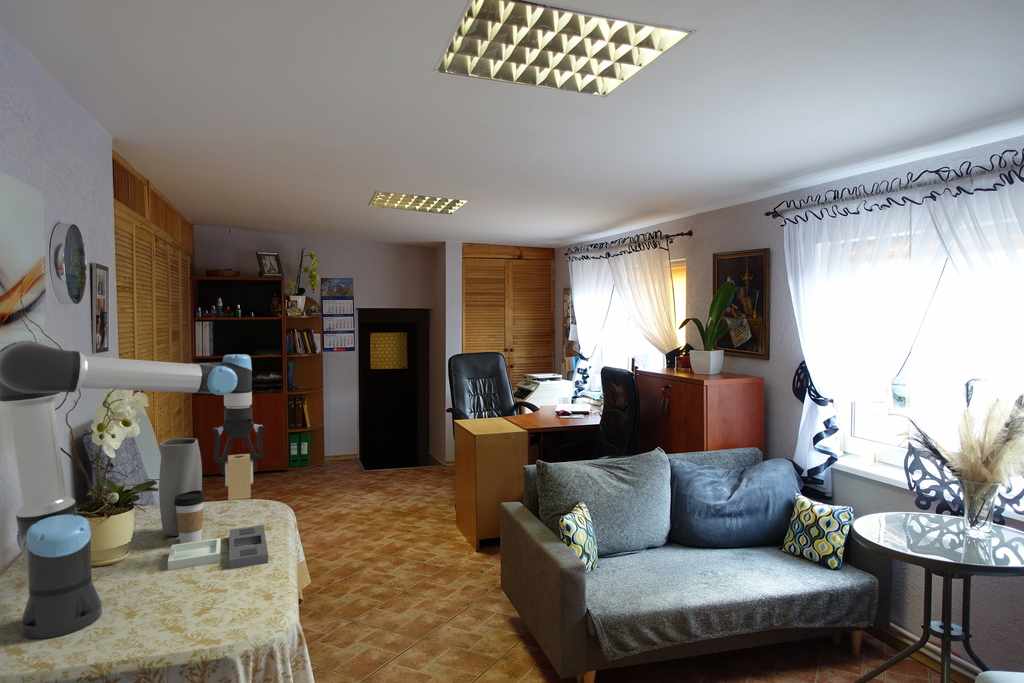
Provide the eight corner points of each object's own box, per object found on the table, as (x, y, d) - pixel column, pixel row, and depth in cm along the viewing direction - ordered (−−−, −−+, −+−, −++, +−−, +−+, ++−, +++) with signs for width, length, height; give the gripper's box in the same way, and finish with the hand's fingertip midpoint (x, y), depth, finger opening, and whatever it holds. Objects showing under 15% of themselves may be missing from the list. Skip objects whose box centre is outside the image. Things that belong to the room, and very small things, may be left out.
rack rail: (268, 562, 172) (268, 553, 172) (229, 569, 168) (229, 559, 168) (263, 532, 196) (263, 524, 196) (229, 537, 192) (229, 529, 191)
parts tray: (220, 561, 173) (219, 553, 173) (168, 570, 167) (167, 561, 167) (220, 545, 185) (220, 537, 184) (172, 553, 179) (171, 545, 179)
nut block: (250, 497, 179) (250, 457, 178) (228, 500, 176) (227, 459, 176) (250, 492, 184) (249, 453, 184) (228, 494, 182) (228, 455, 181)
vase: (169, 527, 201) (166, 438, 199) (208, 525, 203) (206, 436, 201) (153, 541, 189) (149, 446, 187) (194, 538, 191) (191, 444, 189)
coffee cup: (210, 540, 189) (208, 493, 188) (181, 548, 183) (179, 499, 182) (199, 534, 195) (198, 488, 194) (171, 541, 188) (169, 494, 188)
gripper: (271, 402, 186) (272, 477, 187) (202, 406, 178) (204, 483, 179) (273, 406, 180) (274, 483, 181) (201, 410, 172) (203, 490, 173)
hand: (239, 483), depth 180 cm, fingers closed on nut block, 6 cm apart
